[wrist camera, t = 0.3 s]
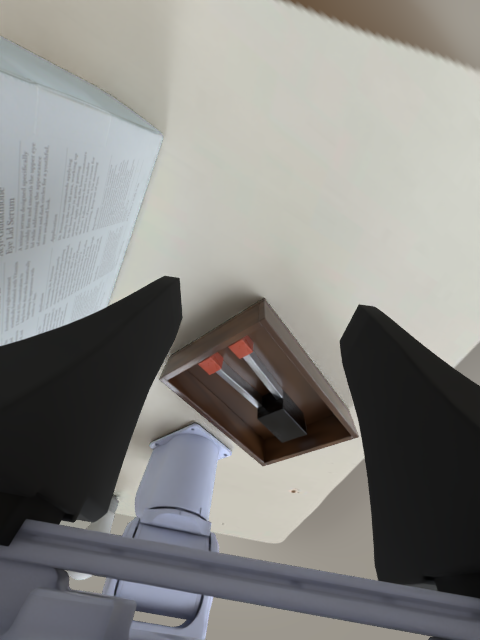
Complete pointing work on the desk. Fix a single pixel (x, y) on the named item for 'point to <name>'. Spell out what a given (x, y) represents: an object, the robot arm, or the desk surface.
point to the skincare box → (63, 192)
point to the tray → (259, 387)
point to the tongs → (272, 407)
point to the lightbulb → (100, 526)
